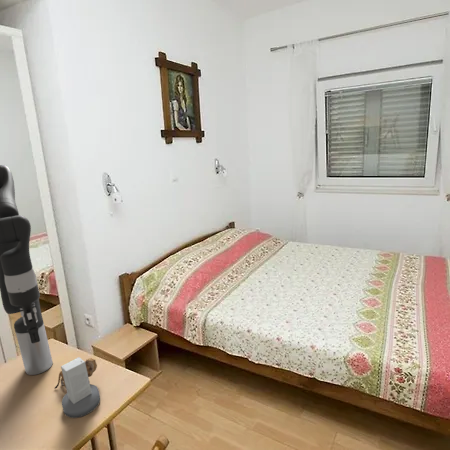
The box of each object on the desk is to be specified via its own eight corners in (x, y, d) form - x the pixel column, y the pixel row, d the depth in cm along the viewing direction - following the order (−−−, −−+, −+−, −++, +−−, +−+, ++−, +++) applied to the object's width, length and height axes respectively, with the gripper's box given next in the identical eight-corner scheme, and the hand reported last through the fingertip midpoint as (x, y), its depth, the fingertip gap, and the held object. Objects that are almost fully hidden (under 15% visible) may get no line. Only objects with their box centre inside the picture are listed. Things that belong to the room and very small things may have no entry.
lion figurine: (100, 375, 124) (96, 353, 121) (99, 385, 119) (94, 362, 116) (56, 384, 120) (51, 362, 118) (52, 395, 115) (47, 372, 113)
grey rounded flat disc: (61, 401, 112) (59, 393, 111) (96, 386, 118) (94, 379, 117) (66, 423, 103) (64, 415, 102) (103, 407, 109) (102, 399, 108)
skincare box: (86, 387, 113) (79, 356, 110) (92, 393, 110) (85, 361, 107) (67, 398, 109) (60, 366, 106) (73, 405, 106) (66, 371, 103)
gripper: (5, 280, 102) (18, 328, 106) (7, 299, 90) (21, 352, 95) (34, 273, 106) (45, 320, 110) (39, 290, 94) (51, 341, 99)
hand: (34, 335), depth 102 cm, fingers open, 8 cm apart
